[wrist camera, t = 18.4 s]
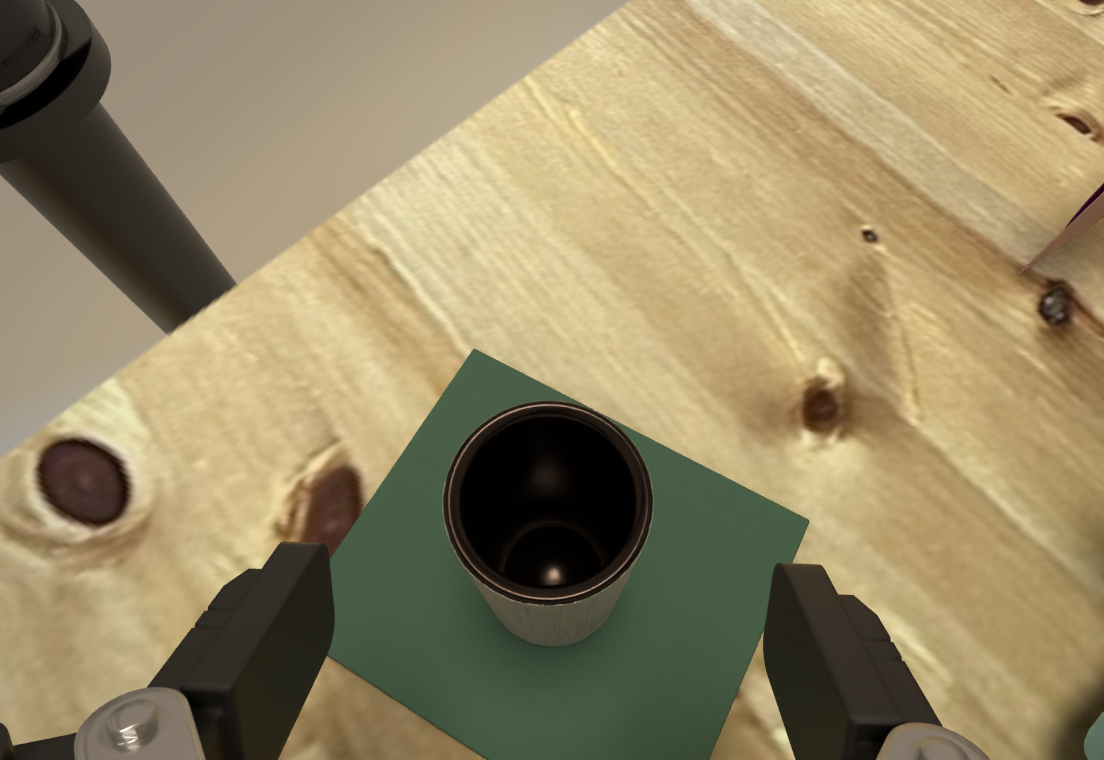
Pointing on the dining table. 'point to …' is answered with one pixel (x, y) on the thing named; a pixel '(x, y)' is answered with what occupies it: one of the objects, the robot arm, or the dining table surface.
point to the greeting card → (1076, 224)
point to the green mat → (573, 670)
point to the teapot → (1095, 740)
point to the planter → (548, 517)
